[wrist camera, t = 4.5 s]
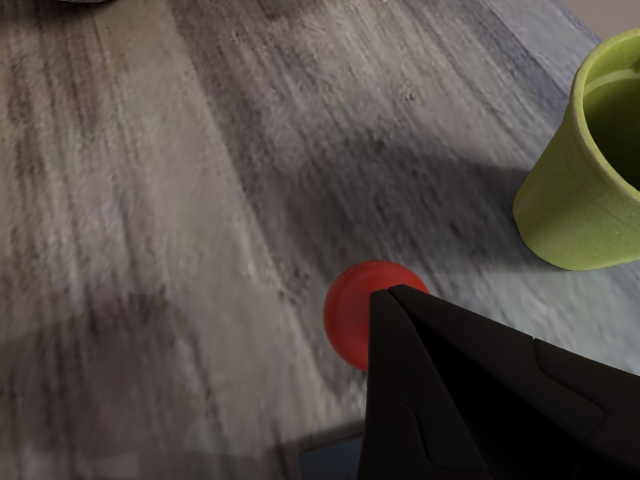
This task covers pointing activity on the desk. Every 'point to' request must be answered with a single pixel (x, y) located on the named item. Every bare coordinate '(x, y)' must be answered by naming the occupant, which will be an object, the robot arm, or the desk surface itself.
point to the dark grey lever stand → (332, 459)
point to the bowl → (85, 0)
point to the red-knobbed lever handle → (359, 306)
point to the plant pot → (590, 167)
